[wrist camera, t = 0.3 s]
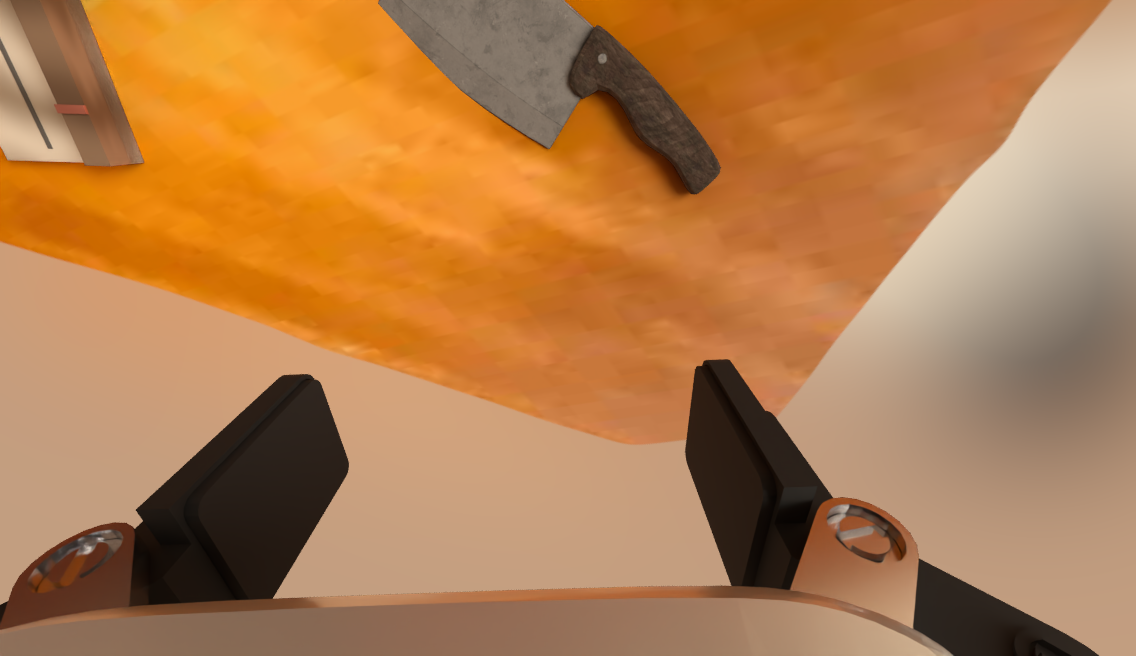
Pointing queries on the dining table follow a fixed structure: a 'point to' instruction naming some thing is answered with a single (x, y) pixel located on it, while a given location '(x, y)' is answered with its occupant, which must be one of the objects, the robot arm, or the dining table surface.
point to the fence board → (58, 88)
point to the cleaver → (549, 72)
